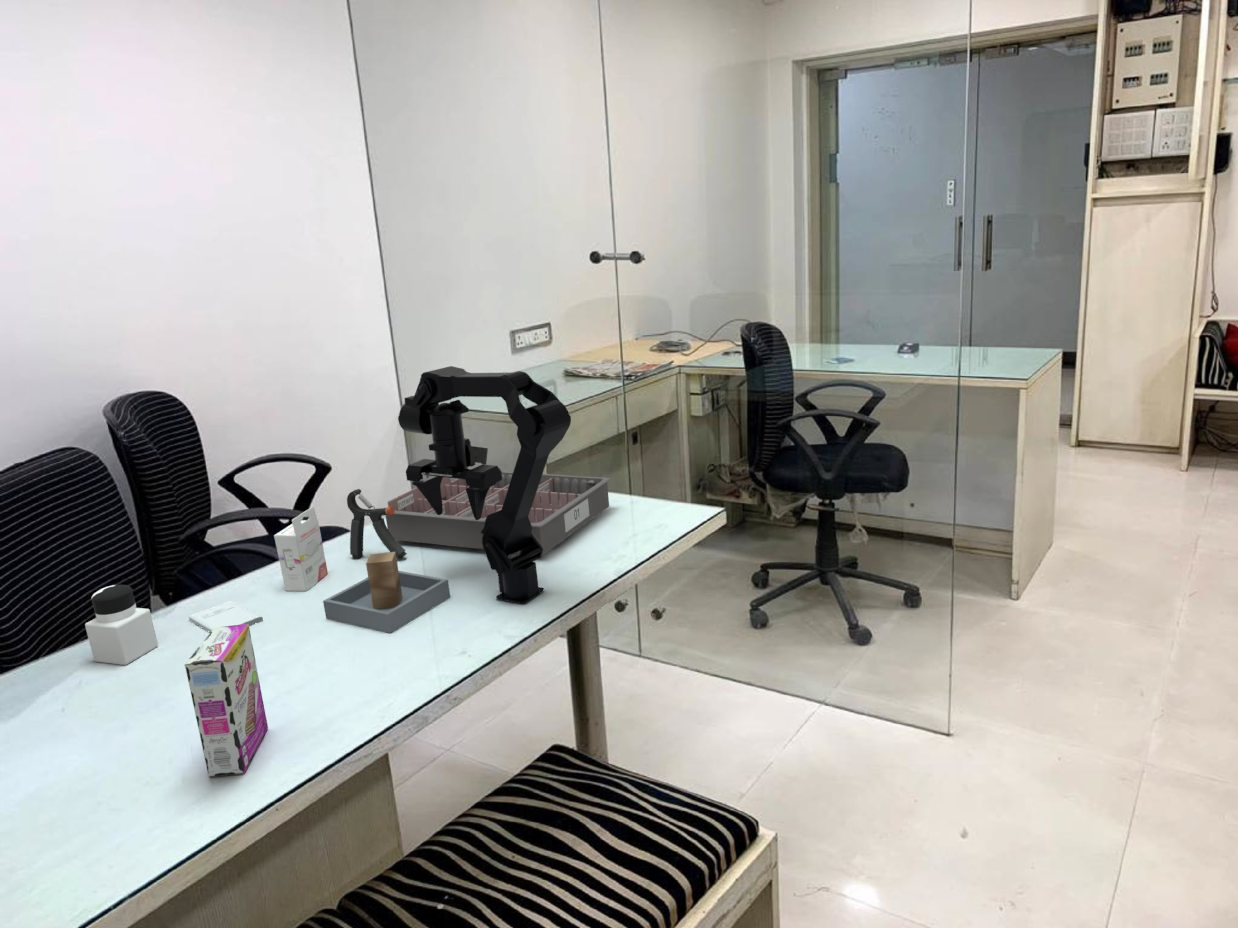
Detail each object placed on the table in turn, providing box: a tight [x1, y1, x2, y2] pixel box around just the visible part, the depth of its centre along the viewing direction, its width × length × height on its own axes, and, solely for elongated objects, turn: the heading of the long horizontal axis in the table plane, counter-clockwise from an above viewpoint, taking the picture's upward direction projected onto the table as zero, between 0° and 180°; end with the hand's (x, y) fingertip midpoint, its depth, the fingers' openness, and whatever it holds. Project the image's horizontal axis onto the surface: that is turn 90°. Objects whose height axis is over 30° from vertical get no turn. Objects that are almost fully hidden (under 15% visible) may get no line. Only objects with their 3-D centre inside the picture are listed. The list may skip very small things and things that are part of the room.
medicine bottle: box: [84, 584, 159, 666], centre depth 154 cm, size 7×7×12 cm
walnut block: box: [365, 551, 403, 610], centre depth 164 cm, size 4×4×9 cm
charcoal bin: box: [322, 570, 451, 634], centre depth 165 cm, size 16×16×4 cm
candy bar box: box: [184, 624, 269, 778], centre depth 121 cm, size 11×5×16 cm, turn 5°
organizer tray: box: [385, 470, 612, 557], centre depth 202 cm, size 32×40×10 cm
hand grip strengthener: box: [346, 488, 408, 560], centre depth 188 cm, size 2×12×15 cm, turn 73°
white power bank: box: [188, 600, 264, 634], centre depth 166 cm, size 2×8×12 cm
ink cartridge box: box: [273, 506, 329, 592], centre depth 179 cm, size 9×5×15 cm, turn 168°
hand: (458, 516), depth 172 cm, fingers open, 9 cm apart
